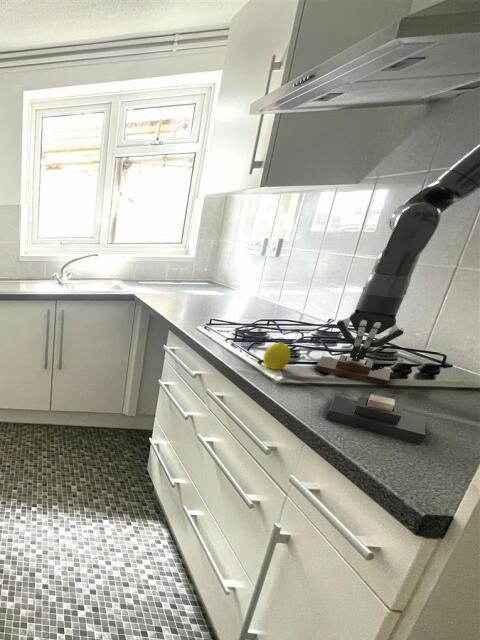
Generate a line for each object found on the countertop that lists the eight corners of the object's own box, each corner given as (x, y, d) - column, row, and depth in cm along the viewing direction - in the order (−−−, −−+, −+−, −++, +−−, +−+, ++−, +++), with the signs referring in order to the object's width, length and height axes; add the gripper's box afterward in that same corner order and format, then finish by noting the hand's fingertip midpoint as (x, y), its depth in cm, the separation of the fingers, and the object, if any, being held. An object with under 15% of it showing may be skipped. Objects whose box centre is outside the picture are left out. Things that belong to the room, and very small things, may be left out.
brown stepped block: (387, 377, 107) (393, 363, 105) (385, 388, 100) (392, 373, 99) (319, 363, 116) (324, 350, 114) (313, 373, 109) (318, 358, 108)
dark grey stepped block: (420, 426, 84) (429, 408, 82) (420, 445, 77) (429, 426, 75) (331, 404, 93) (338, 387, 91) (325, 419, 86) (331, 402, 84)
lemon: (264, 373, 109) (273, 344, 106) (256, 366, 114) (265, 338, 111) (288, 375, 108) (298, 346, 104) (279, 368, 113) (288, 339, 109)
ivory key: (391, 407, 83) (395, 399, 83) (390, 413, 81) (394, 405, 80) (367, 401, 86) (371, 394, 85) (366, 407, 83) (369, 399, 83)
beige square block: (363, 366, 107) (365, 360, 106) (361, 370, 105) (364, 363, 104) (345, 363, 109) (347, 356, 109) (343, 366, 107) (346, 360, 106)
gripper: (422, 294, 98) (391, 363, 105) (349, 286, 106) (325, 350, 113) (422, 299, 93) (389, 371, 100) (345, 290, 101) (320, 357, 108)
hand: (355, 360), depth 107 cm, fingers closed
